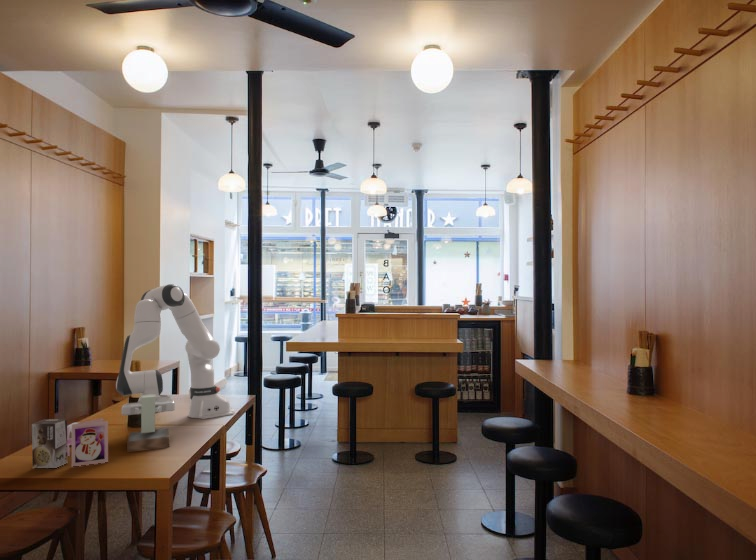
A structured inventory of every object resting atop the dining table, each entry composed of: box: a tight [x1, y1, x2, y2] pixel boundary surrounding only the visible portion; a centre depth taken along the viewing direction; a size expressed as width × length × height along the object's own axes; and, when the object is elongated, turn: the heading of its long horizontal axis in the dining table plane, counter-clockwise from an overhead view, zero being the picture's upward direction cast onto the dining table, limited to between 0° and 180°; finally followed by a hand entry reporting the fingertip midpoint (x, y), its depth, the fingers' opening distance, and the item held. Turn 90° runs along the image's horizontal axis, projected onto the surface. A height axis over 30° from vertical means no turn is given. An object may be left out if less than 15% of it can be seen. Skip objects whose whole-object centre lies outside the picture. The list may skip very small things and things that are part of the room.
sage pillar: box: [140, 395, 156, 433], centre depth 206 cm, size 5×5×14 cm
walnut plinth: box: [126, 427, 170, 453], centre depth 206 cm, size 15×15×4 cm
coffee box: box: [31, 418, 68, 469], centre depth 182 cm, size 9×6×16 cm
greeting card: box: [71, 417, 109, 468], centre depth 185 cm, size 11×7×15 cm, turn 114°
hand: (148, 411), depth 206 cm, fingers closed on sage pillar, 5 cm apart
